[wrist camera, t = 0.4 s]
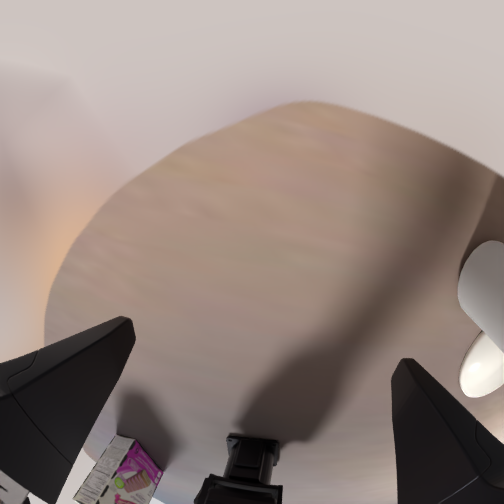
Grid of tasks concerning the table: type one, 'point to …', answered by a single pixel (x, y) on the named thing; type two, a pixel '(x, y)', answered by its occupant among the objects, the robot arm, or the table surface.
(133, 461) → the candy bar box
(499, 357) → the saucer
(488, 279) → the can
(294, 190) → the table surface
